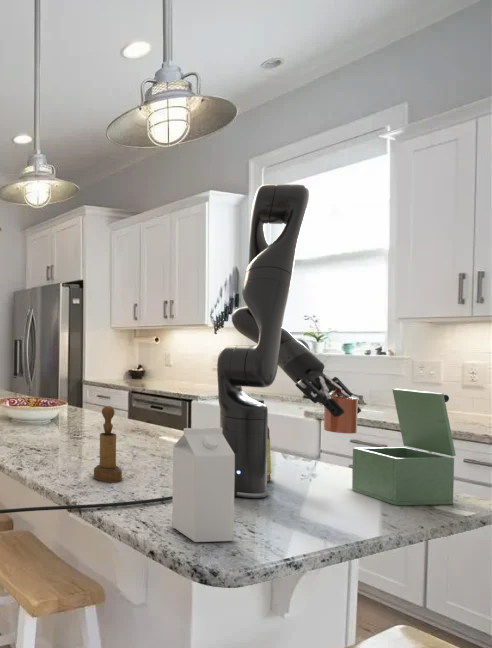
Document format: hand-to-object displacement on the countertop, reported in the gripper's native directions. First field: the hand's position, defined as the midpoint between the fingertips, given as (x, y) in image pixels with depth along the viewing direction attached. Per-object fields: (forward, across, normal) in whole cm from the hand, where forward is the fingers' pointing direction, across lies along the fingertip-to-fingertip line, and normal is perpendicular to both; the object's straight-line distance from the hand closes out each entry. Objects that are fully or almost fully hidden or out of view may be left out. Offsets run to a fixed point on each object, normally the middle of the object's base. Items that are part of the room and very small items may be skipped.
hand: (348, 413), depth 117 cm
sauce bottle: (+3, -13, +22) cm, 26 cm away
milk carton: (+17, -56, +8) cm, 59 cm away
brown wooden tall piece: (-7, -46, +33) cm, 57 cm away
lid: (+8, +6, -7) cm, 12 cm away
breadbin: (+19, +2, +6) cm, 20 cm away
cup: (+2, 0, +4) cm, 5 cm away
